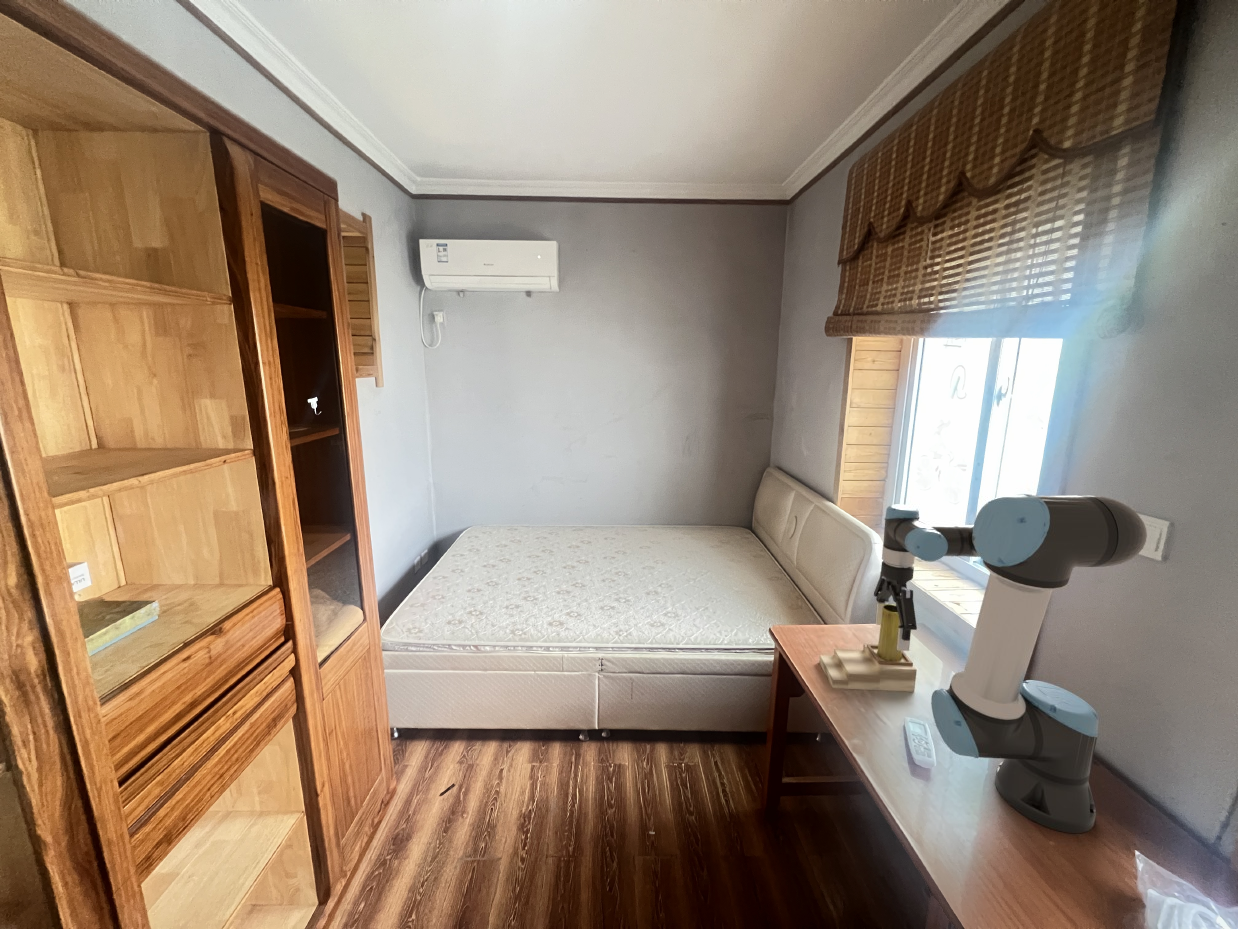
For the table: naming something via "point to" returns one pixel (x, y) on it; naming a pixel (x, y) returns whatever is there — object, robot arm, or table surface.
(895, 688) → the step stand
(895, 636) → the vase
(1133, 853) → the table surface
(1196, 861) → the table surface
